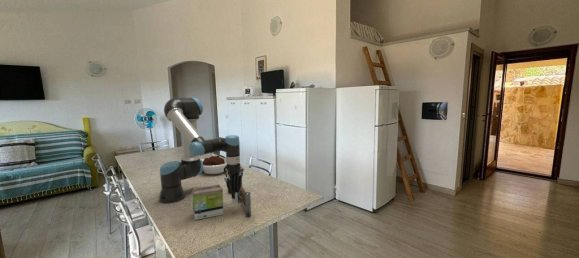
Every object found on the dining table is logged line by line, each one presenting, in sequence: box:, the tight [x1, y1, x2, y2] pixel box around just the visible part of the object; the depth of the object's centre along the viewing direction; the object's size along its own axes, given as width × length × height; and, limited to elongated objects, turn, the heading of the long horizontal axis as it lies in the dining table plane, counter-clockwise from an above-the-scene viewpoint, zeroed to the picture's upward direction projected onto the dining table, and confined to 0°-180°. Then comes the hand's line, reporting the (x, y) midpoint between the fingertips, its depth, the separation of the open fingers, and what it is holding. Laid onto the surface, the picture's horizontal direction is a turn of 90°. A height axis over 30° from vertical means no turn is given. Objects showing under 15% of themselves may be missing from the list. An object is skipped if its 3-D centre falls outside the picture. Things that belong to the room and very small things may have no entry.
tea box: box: [191, 184, 224, 221], centre depth 137 cm, size 15×10×15 cm
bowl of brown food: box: [202, 155, 227, 175], centre depth 213 cm, size 25×25×15 cm
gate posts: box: [238, 180, 252, 218], centre depth 145 cm, size 6×27×13 cm, turn 22°
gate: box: [239, 184, 247, 207], centre depth 145 cm, size 2×18×9 cm, turn 22°
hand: (235, 203), depth 141 cm, fingers closed
